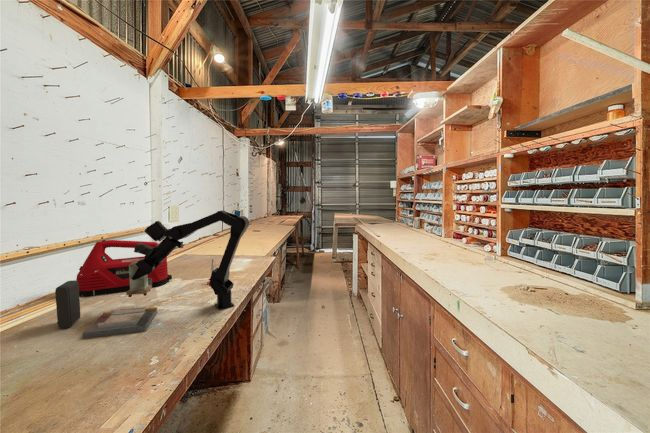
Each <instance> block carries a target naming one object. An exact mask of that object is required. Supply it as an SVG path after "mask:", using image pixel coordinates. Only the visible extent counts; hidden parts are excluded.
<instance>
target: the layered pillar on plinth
mask: <svg viewBox="0 0 650 433" xmlns="http://www.w3.org/2000/svg"><path fill="white" fill-rule="evenodd" d="M136 263H137V262H132V263H131V264H129V278H130V289H129V290H128V291H127V292H125V293H126V296H128V298H132V296H134V295H142V294H143V296H147V295H148V293H149V292H150V291H151V289H153V288H152V285H148V274H147V275H145V276H142V277H140V278H138V279H136V280H132V277H133V276H134V274H135V272H136V271H137V269H138V267H137V266H136V265H135V264H136Z"/></svg>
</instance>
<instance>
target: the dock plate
mask: <svg viewBox="0 0 650 433" xmlns="http://www.w3.org/2000/svg"><path fill="white" fill-rule="evenodd" d="M157 314H158V307H157V306H156V307H155V306H154V307H149V308H148V307H147V308H146V307H145V306H144V307H135V308H126V309H117V310H111V311H106V312H105V311H104V312H103V313H102V314H101V315H100V316H99V317H98V318H97V319H95V321H93V323H91V324H90V325H89V326H88V327H86V329H85V330H84V331H83V332H82V333H81V334H82V340H85V339H93V338H101V337H102V338H103V337H107V336H108V337H110V336H111V337H112V336H116V335H117V336H118V335H124V334H126V335H127V334H135V333H143V332H146V331H147V330H148V328H149V327H150V325H151V324H152V323H153V321H154V319H155V317H156V316H157ZM152 320H153V321H152Z"/></svg>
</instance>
